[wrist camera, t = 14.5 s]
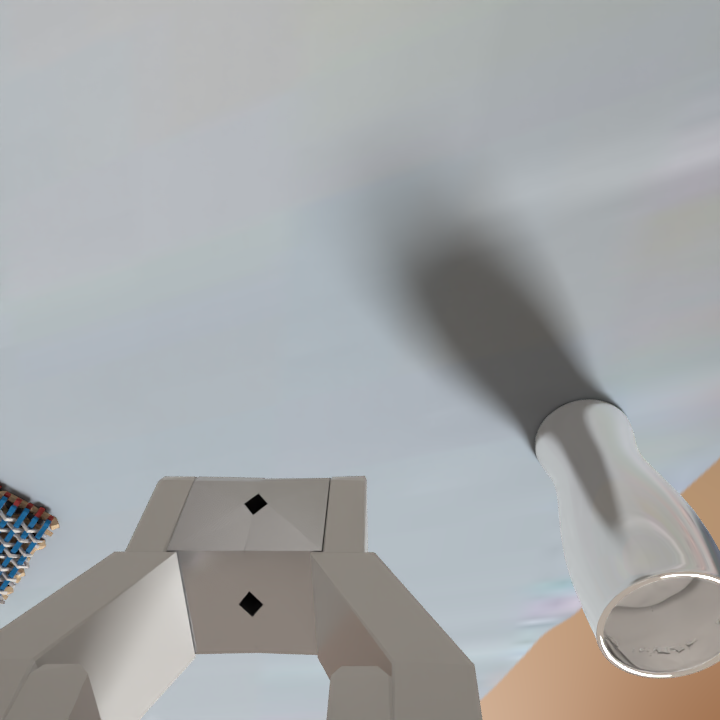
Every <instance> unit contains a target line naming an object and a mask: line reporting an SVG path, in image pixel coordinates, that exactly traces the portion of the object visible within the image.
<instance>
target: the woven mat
mask: <svg viewBox="0 0 720 720" xmlns="http://www.w3.org/2000/svg"><path fill="white" fill-rule="evenodd" d="M1 487H2V486H0V489H1ZM7 501H9V502H11V503H13V505H12V506H11V507H10V509H9V510H8V509H7V507H6V506H5V503H6V502H7ZM33 505H34V504H32V503H28V502H26V501H24V500H22V499H21V498H19V497H17V496H15V495H13V494H11V493H9V492H8V491H0V576H1V577H2V578H1V577H0V604H5V601H3V599H5V600H6V599H7V598H8V596H7V595H8V594H11V593H13V588H14V587H15V586H16V585H15V584H14V583H13V582H16V583H18V582H19V581H20V579H21V578H20V577H23V576H25V572H24V568H26V569H27V568H29V563H28V562H29V560H30V558H29V557H32V556H34V555H33V553H34V552H35V551H36V550H40V549H43V548H44V547H46V544H45V540H40V538H41V537H42V536H44V537H45V538H46V535H49V536H52V534H53V533H52V532H50V531H49V530H47V528H48V526H50V528H51V530H54V529H56V528H59V523H58V521H57V519H56V517H54V516H52V515H50V514H48V513H46V512H45V510H46V509H45V508H43V507H40V508H37V507H35V506H33ZM18 507H20V508H22V509H24V510H23V512H22V513H21V514H14V513H15V511H16V509H17V508H18ZM29 512H30V513H31V514H33V515H35V516H34V517H33V518H32V520H31V519H29V518H27V517H26V516H27V514H28V513H29ZM39 518H41V519H43V520H45V522H44V524H43V525H42V526H41V525H39V524H38V523H37V521H38V520H39ZM20 525H21V526H22V527H23V528H22V527H20ZM32 533H37V534H36V535H35V537H34V535H33V534H32ZM9 547H13V548H12V549H11V550H10V549H9ZM18 550H19V551H20V552H21V554H20V553H16V552H17V551H18ZM31 554H32V555H31ZM23 563H24V564H25V566H24V565H22V564H23ZM9 571H10V572H9ZM15 574H16V575H15ZM2 582H3V583H2ZM7 585H10V586H7Z"/></svg>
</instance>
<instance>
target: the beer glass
mask: <svg viewBox="0 0 720 720" xmlns="http://www.w3.org/2000/svg"><path fill="white" fill-rule="evenodd" d="M535 452H536V456H537V459H538V461H539V463H540V464H541V466H542V468H543V469H544V470H545V472H546V473H547V475H548V476H549V477H550V479H551V480H552V482H553V484H554V486H555V489H556V493H557V501H558V513H559V524H560V534H561V540H562V546H563V552H564V558H565V561H566V565H567V568H568V572H569V575H570V578H571V581H572V584H573V587H574V589H575V592H576V594H577V597H578V600H579V602H580V604H581V607H582V609H583V611H584V613H585V615H586V618H587V620H588V622H589V624H590V626H591V628H592V630H593V633H594V635H595V637H596V639H597V643H598V646H599V648H600V650H601V652H602V654H603V655H604V656H605V658H606V659H607V660H608V661H609V662H610V663H612V664H613V665H615V666H616V667H617V668H619V669H621V670H623V671H625V672H627V673H630V674H633V675H637V676H641V677H647V678H674V677H680V676H684V675H689V674H692V673H695V672H699V671H701V670H703V669H706V668H708V667H710V666H712V665H714V664H716V663H717V662H719V661H720V551H719V549H718V547H717V545H716V544H715V542H714V540H713V539H712V537H711V535H710V534H709V532H708V530H707V529H706V527H705V526H704V524H703V523H702V521H701V520H700V518H699V517H698V516H697V514H696V513H695V511H694V510H693V509H692V508H691V506H690V505H689V504H688V503H687V502H686V501H685V500H684V498H683V497H682V496H681V495H680V494H679V493H678V492H677V491H676V490H675V489H674V488H673V487H672V486H671V485H670V484H669V483H668V482H667V481H666V480H665V479H664V478H663V477H662V476H661V475H660V474H659V473H658V472H657V471H656V470H655V469H654V468H653V467H652V466H651V465H650V464H649V463H648V462H647V461H646V460H645V459H644V457H643V456H642V454H641V453H640V451H639V449H638V447H637V444H636V440H635V436H634V432H633V428H632V426H631V423H630V421H629V419H628V418H627V416H626V415H625V414H624V413H623V412H622V411H621V410H620V409H619V408H617V407H616V406H614V405H612V404H610V403H608V402H605V401H601V400H594V399H585V400H578V401H573V402H570V403H567V404H565V405H563V406H561V407H559V408H557V409H556V410H554V411H553V412H552V413H551V414H549V415H548V416H547V417H546V418H545V420H544V421H543V422H542V424H541V425H540V427H539V429H538V431H537V434H536V438H535Z"/></svg>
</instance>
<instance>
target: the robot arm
mask: <svg viewBox="0 0 720 720" xmlns="http://www.w3.org/2000/svg"><path fill="white" fill-rule="evenodd" d="M222 653H277V654H305V655H318V659H319V661H320V663H321V664H322V666H323V668H324V670H325V672H326V674H327V675H328V677H329V679H330V689H329V699H328V710H327V720H482V715H481V707H480V700H479V693H478V686H477V679H476V673H475V666H474V664H473V663H472V662H471V661H470V659H469V658H468V657H467V656H466V655H465V654H464V653H463V652H462V650H461V649H460V648H459V647H458V646H457V645H456V644H455V643H454V641H453V640H452V639H451V638H450V637H449V636H448V635H447V633H446V632H445V631H444V630H443V629H442V628H441V627H440V626H439V624H438V623H437V622H436V621H435V620H434V619H433V618H432V617H431V615H430V614H429V613H428V612H427V611H426V610H425V609H424V608H423V606H422V605H421V604H420V603H419V602H418V601H417V600H416V599H415V597H414V596H413V595H412V594H411V593H410V592H409V591H408V590H407V588H406V587H405V586H404V585H403V584H402V583H401V582H400V581H399V579H398V578H397V577H396V576H395V575H394V574H393V573H392V571H391V570H390V569H389V568H388V567H387V566H386V565H385V564H384V562H383V561H382V560H381V559H380V558H379V557H378V556H377V555H376V553H373V552H368V532H367V480H366V478H365V476H346V477H332V478H270V479H265V478H245V477H198V478H197V477H170V476H165V477H163V478H162V479H161V480H159V482H158V483H157V485H156V487H155V489H154V491H153V493H152V496H151V498H150V500H149V502H148V504H147V506H146V508H145V510H144V512H143V515H142V517H141V519H140V521H139V523H138V525H137V527H136V529H135V531H134V533H133V536H132V538H131V540H130V542H129V544H128V546H127V548H126V550H125V552H114V553H112V554H111V555H109V556H108V557H106V558H105V559H103V560H102V561H100V562H99V563H97V564H96V565H94V566H93V567H91V568H90V569H89V570H87V571H86V572H84V573H83V574H81V575H80V576H78V577H77V578H75V579H74V580H72V581H71V582H69V583H68V584H66V585H65V586H64V587H62V588H61V589H59V590H58V591H56V592H55V593H53V594H52V595H50V596H49V597H47V598H46V599H44V600H43V601H41V602H40V603H38V604H37V605H36V606H34V607H33V608H31V609H30V610H28V611H27V612H25V613H24V614H22V615H21V616H19V617H18V618H16V619H15V620H13V621H12V622H10V623H9V624H8V625H6V626H5V627H3V628H2V629H0V720H140V719H141V718H142V717H143V716H144V714H145V713H146V712H147V711H148V710H149V709H150V708H151V707H152V706H153V704H154V703H155V702H156V701H157V700H158V699H159V698H160V697H161V696H162V694H163V693H164V692H165V691H166V690H167V689H168V688H169V687H170V686H171V684H172V683H173V682H174V681H175V680H176V679H177V678H178V677H179V676H180V674H181V673H182V672H183V671H184V670H185V669H186V668H187V667H188V666H189V664H190V663H191V662H192V661H193V660H194V659H195V654H222Z"/></svg>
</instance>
